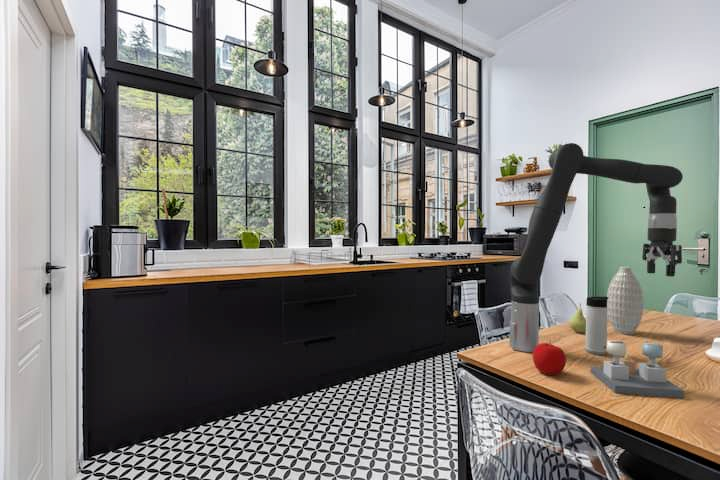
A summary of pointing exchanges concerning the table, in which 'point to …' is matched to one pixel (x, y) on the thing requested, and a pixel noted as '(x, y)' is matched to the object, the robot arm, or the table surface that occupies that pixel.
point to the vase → (625, 302)
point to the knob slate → (652, 352)
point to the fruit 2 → (578, 322)
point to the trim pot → (629, 364)
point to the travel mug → (596, 325)
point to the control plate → (637, 380)
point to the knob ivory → (616, 350)
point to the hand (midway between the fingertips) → (660, 274)
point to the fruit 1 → (549, 358)
